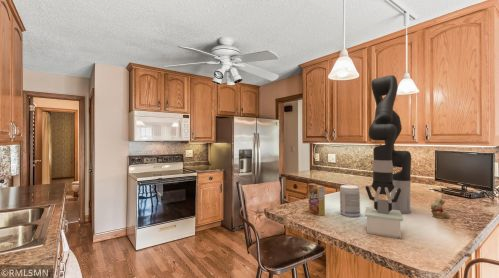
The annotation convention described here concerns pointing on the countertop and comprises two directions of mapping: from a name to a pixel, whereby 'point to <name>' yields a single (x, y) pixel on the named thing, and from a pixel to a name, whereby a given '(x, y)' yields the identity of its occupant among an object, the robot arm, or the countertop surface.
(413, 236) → the countertop surface
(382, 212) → the lid
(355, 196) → the supplement tub
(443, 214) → the chocolate bunny
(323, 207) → the candy box
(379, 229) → the storage box
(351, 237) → the countertop surface
